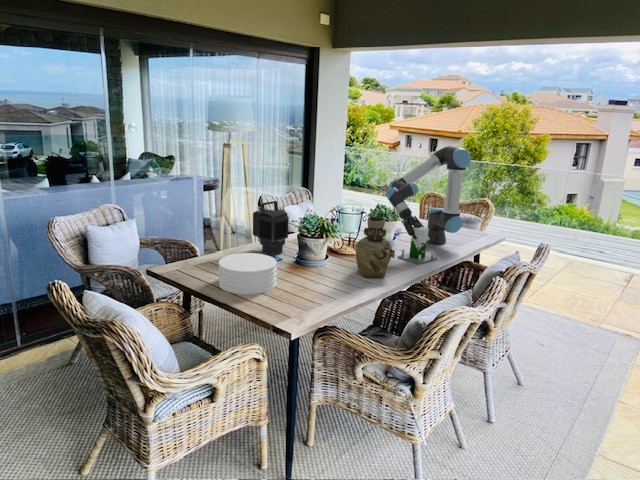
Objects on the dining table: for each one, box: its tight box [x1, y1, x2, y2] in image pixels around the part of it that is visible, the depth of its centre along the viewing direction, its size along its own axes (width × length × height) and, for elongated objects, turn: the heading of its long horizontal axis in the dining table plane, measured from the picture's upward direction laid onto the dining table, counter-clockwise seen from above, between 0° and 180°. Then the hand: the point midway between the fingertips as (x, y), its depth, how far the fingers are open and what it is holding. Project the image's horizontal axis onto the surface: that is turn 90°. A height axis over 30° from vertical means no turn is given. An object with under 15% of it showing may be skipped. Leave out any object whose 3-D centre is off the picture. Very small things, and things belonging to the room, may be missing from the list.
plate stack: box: [218, 252, 278, 295], centre depth 235 cm, size 28×28×12 cm
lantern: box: [252, 200, 290, 256], centre depth 285 cm, size 15×18×30 cm
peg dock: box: [396, 248, 438, 266], centre depth 288 cm, size 18×16×5 cm
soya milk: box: [409, 223, 429, 258], centre depth 286 cm, size 9×9×20 cm
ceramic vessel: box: [355, 216, 396, 279], centre depth 256 cm, size 19×21×30 cm
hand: (424, 241), depth 284 cm, fingers open, 9 cm apart
